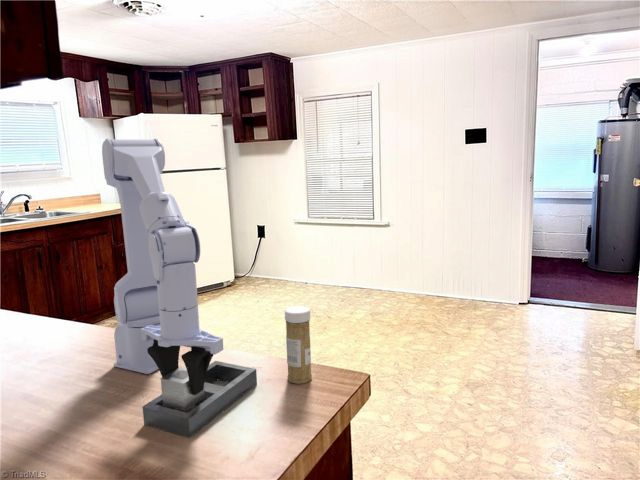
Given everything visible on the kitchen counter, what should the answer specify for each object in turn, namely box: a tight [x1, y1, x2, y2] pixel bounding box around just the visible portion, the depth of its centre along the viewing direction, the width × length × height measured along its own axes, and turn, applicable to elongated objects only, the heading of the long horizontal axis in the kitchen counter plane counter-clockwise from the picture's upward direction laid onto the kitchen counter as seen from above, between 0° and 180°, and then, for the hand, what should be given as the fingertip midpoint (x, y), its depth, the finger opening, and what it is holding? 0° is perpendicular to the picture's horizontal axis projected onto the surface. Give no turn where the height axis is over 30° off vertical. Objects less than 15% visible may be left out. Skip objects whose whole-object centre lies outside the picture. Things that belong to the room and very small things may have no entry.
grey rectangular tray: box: [142, 360, 258, 439], centre depth 79 cm, size 9×18×3 cm, turn 155°
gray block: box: [160, 366, 205, 412], centre depth 75 cm, size 4×4×5 cm
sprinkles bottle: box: [284, 305, 313, 385], centre depth 87 cm, size 5×5×14 cm
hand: (184, 388), depth 75 cm, fingers closed on gray block, 4 cm apart
